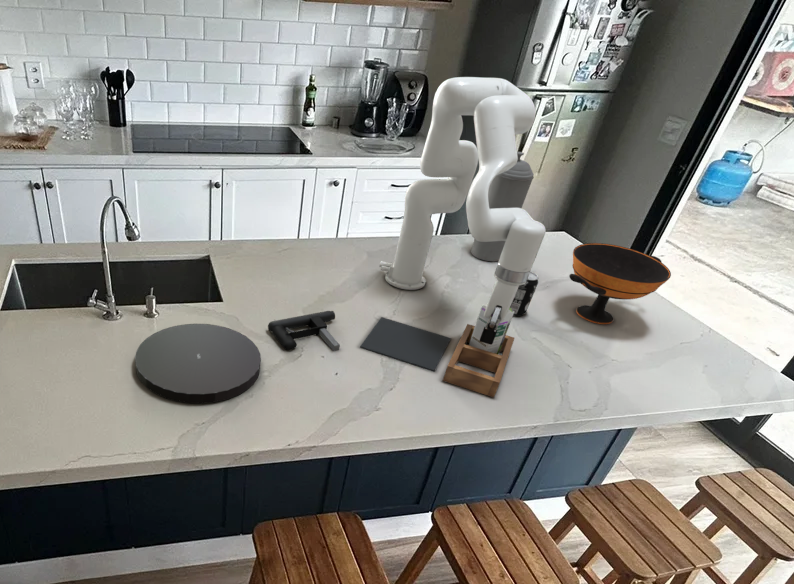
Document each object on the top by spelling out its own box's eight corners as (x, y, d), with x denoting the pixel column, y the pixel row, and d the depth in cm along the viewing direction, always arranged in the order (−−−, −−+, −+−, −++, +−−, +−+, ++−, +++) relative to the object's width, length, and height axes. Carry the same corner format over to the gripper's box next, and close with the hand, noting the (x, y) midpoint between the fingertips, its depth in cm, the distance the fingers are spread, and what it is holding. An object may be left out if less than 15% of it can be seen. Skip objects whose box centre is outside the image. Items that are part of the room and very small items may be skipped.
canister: (510, 256, 203) (547, 154, 182) (494, 266, 196) (531, 160, 174) (477, 245, 210) (510, 144, 188) (461, 254, 202) (492, 150, 181)
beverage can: (522, 307, 174) (536, 271, 167) (527, 318, 169) (542, 281, 162) (500, 304, 174) (513, 268, 167) (505, 315, 169) (519, 279, 162)
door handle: (359, 338, 150) (329, 305, 160) (292, 352, 142) (264, 317, 153) (357, 348, 152) (327, 315, 162) (290, 363, 144) (263, 327, 155)
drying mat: (359, 347, 151) (360, 346, 150) (381, 318, 163) (381, 316, 163) (434, 371, 144) (434, 370, 144) (450, 339, 157) (451, 338, 157)
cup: (591, 349, 157) (620, 292, 146) (520, 306, 174) (542, 252, 163) (669, 324, 172) (701, 271, 161) (596, 287, 189) (621, 236, 178)
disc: (123, 343, 145) (122, 333, 143) (233, 325, 155) (234, 315, 153) (154, 416, 124) (153, 405, 122) (279, 389, 134) (281, 379, 132)
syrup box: (481, 363, 148) (499, 315, 139) (465, 351, 152) (482, 303, 143) (497, 358, 151) (516, 310, 141) (481, 347, 155) (498, 299, 145)
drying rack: (442, 380, 141) (447, 365, 138) (462, 337, 158) (467, 323, 155) (493, 397, 137) (499, 382, 134) (509, 351, 154) (514, 337, 151)
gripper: (501, 255, 144) (480, 316, 155) (489, 282, 131) (467, 346, 143) (532, 263, 141) (508, 324, 152) (523, 291, 129) (497, 355, 140)
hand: (488, 334), depth 147 cm, fingers closed on syrup box, 7 cm apart
